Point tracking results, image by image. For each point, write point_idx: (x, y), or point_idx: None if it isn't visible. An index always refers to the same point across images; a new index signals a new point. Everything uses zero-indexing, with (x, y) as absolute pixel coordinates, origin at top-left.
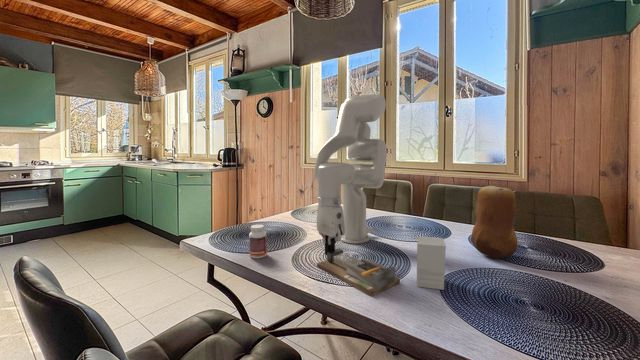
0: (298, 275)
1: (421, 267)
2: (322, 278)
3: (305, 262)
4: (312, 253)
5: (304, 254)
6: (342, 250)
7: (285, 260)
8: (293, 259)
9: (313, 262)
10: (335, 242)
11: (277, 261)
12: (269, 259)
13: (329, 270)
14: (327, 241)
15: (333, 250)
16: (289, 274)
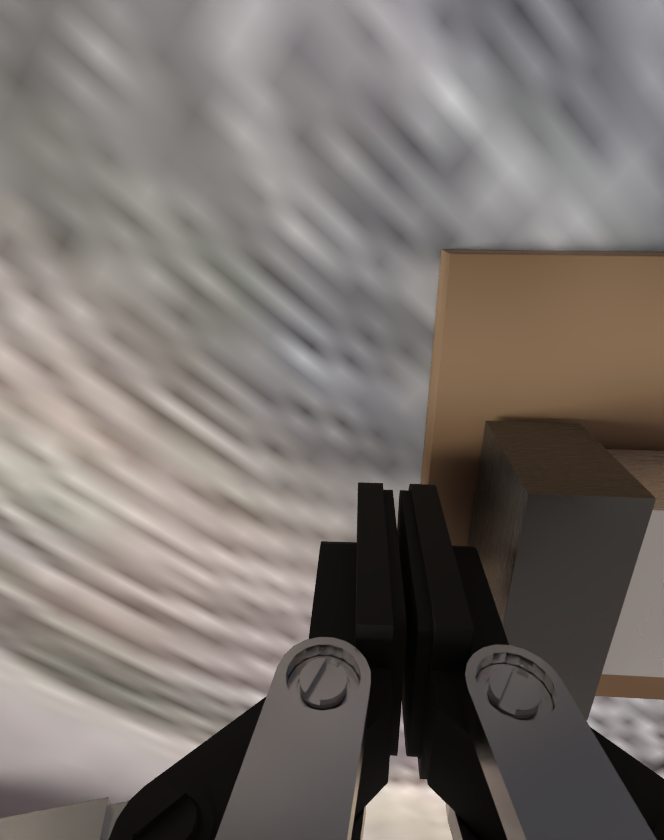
0: (433, 811)
1: None
2: (629, 742)
3: (239, 663)
4: (36, 480)
5: (26, 561)
6: (649, 508)
7: (94, 742)
8: (107, 693)
9: (288, 615)
10: (557, 697)
11: (83, 784)
12: (10, 800)
13: (636, 693)
14: (379, 781)
15: (513, 618)
16: (371, 835)
